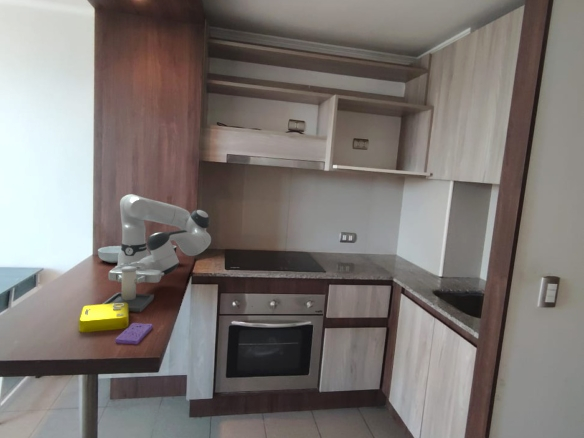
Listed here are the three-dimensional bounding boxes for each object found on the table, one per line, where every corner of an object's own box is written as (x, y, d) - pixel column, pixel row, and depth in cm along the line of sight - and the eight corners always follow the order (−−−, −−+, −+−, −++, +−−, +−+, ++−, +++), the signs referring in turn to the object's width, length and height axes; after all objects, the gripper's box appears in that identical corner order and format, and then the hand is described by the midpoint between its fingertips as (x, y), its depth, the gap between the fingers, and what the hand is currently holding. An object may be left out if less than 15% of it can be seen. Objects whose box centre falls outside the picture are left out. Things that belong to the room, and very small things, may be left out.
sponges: (152, 329, 128) (152, 323, 128) (137, 346, 116) (137, 340, 116) (132, 327, 128) (132, 322, 128) (114, 344, 116) (114, 338, 116)
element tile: (82, 316, 134) (82, 303, 133) (128, 312, 140) (128, 300, 140) (78, 334, 120) (77, 320, 120) (128, 329, 127) (128, 315, 126)
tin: (124, 294, 149) (124, 266, 148) (138, 295, 150) (138, 266, 148) (118, 299, 144) (119, 269, 142) (132, 300, 144) (133, 270, 143)
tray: (117, 296, 154) (117, 292, 154) (153, 298, 155) (153, 294, 155) (99, 310, 140) (99, 305, 139) (139, 312, 140) (140, 308, 140)
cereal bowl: (98, 258, 211) (98, 246, 210) (129, 257, 219) (129, 245, 218) (97, 266, 196) (97, 253, 195) (131, 264, 204) (132, 251, 203)
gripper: (165, 280, 160) (154, 290, 146) (117, 277, 159) (101, 287, 145) (166, 265, 159) (154, 274, 145) (117, 262, 158) (101, 271, 144)
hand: (127, 281), depth 145 cm, fingers closed on tin, 5 cm apart
